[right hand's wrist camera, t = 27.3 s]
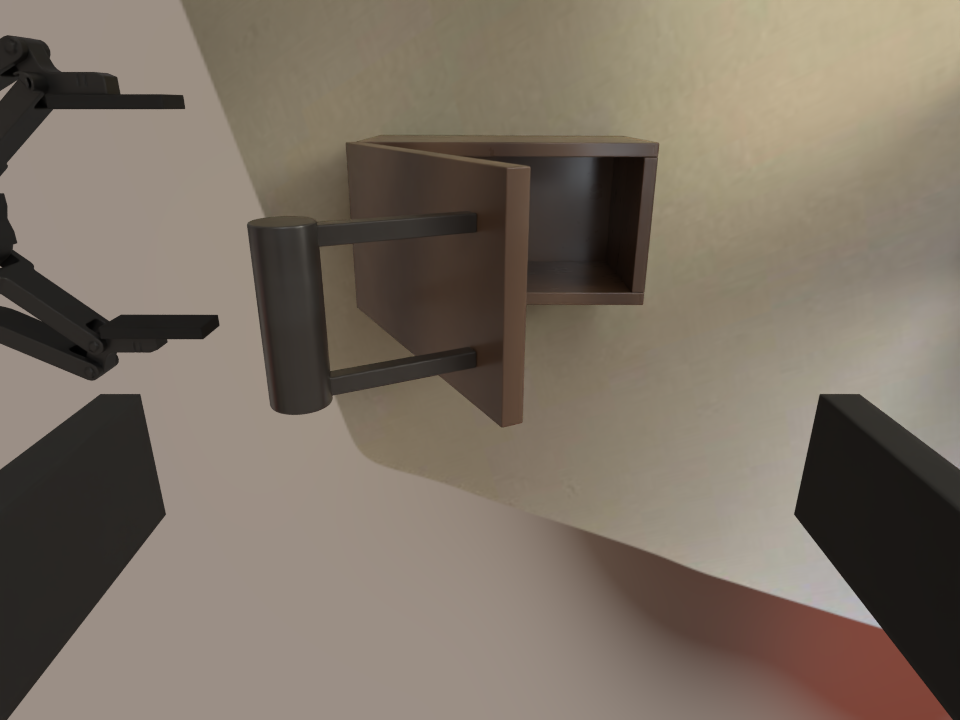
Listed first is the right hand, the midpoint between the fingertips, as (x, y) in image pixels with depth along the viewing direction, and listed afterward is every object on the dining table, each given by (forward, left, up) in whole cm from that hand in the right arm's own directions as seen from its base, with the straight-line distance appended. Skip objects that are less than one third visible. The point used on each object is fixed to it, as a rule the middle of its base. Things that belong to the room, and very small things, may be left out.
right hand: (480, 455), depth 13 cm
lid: (+1, -2, -19) cm, 19 cm away
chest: (0, +2, -36) cm, 36 cm away
